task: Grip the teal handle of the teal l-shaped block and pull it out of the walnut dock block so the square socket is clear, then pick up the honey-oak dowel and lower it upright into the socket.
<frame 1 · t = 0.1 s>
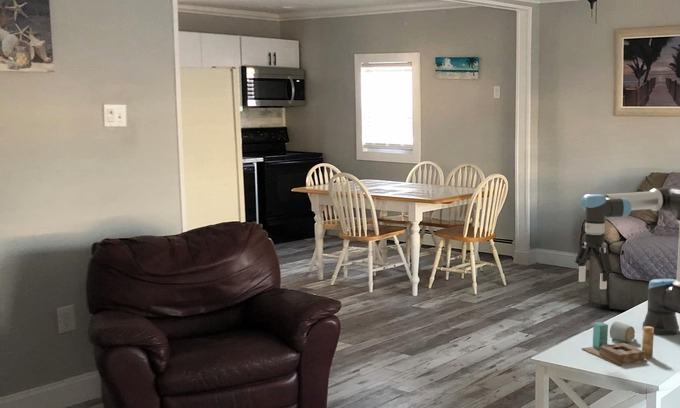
hand: (592, 285, 326), 28 cm above the table, fingers open, 13 cm apart
dock: (621, 358, 321), on the table
teal l-shaped block: (611, 340, 326), point 6 cm above the table, slide at 0.0 cm
grey cylinder: (623, 340, 346), on the table
dowel: (647, 356, 323), on the table
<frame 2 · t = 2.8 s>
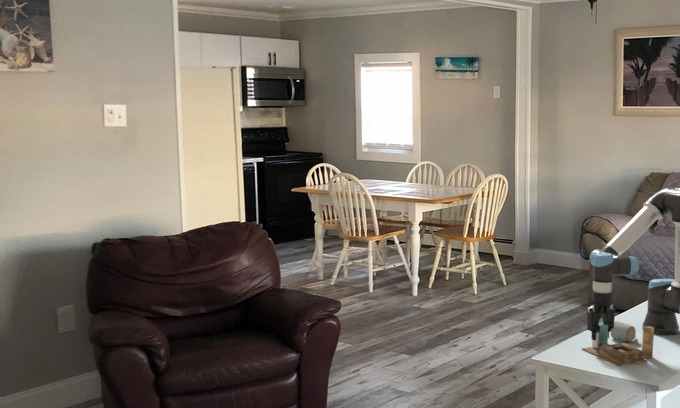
hand: (599, 346, 333), 1 cm above the table, fingers closed on teal l-shaped block, 4 cm apart
teal l-shaped block: (611, 340, 326), point 6 cm above the table, slide at 0.0 cm, touching gripper
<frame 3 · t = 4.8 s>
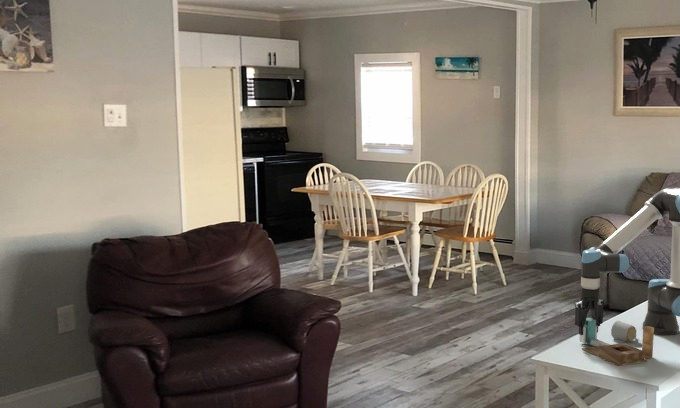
hand: (588, 341, 340), 1 cm above the table, fingers open, 5 cm apart
teal l-shaped block: (599, 335, 333), point 6 cm above the table, slide at 7.4 cm
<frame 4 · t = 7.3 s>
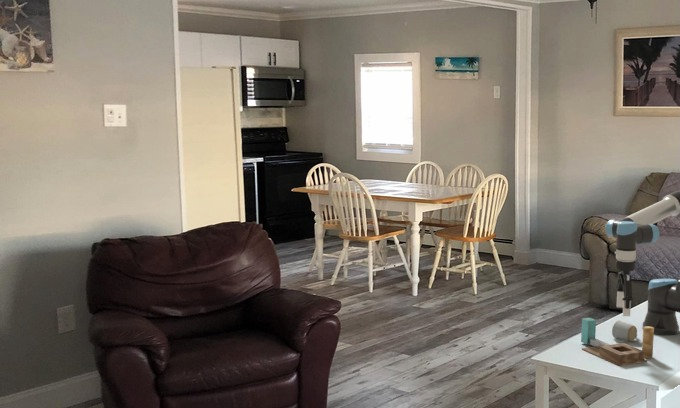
hand: (623, 311, 328), 17 cm above the table, fingers open, 13 cm apart
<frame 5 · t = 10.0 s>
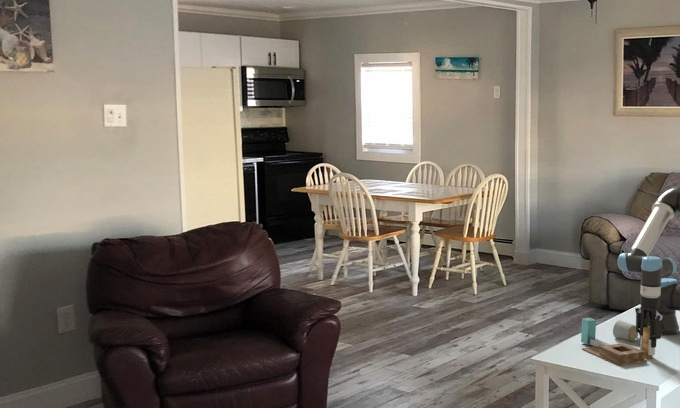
hand: (647, 352, 323), 2 cm above the table, fingers closed on dowel, 4 cm apart
dowel: (647, 356, 323), on the table, touching gripper
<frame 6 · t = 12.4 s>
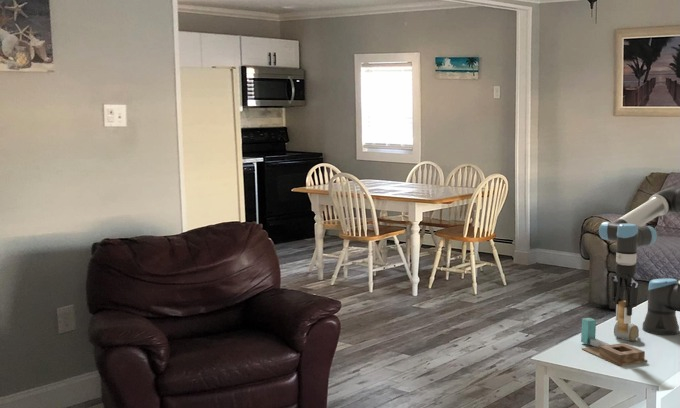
hand: (623, 321, 319), 15 cm above the table, fingers closed on dowel, 4 cm apart
dowel: (622, 331, 320), point 11 cm above the table, touching gripper
when the fingers open (5 cm above the table, at t = 14.7 s): dowel stays where it is, resting on dock.
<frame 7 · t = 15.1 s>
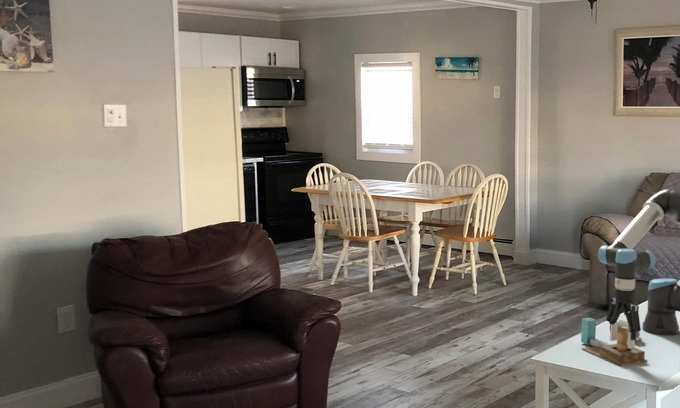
hand: (622, 343, 320), 6 cm above the table, fingers open, 9 cm apart
dowel: (621, 357, 321), point 1 cm above the table, touching dock
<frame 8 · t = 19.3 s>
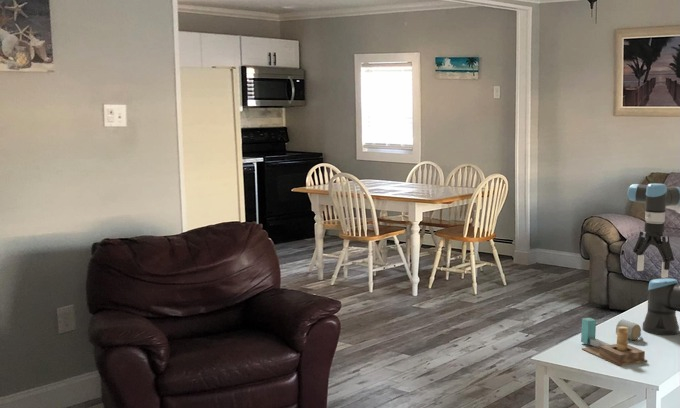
hand: (652, 274, 328), 32 cm above the table, fingers open, 13 cm apart
at the end: dowel 0.0 cm off-centre on the dock, point 0.5 cm above the dock's base; dowel tilted 1°; teal l-shaped block slide at 7.4 cm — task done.
